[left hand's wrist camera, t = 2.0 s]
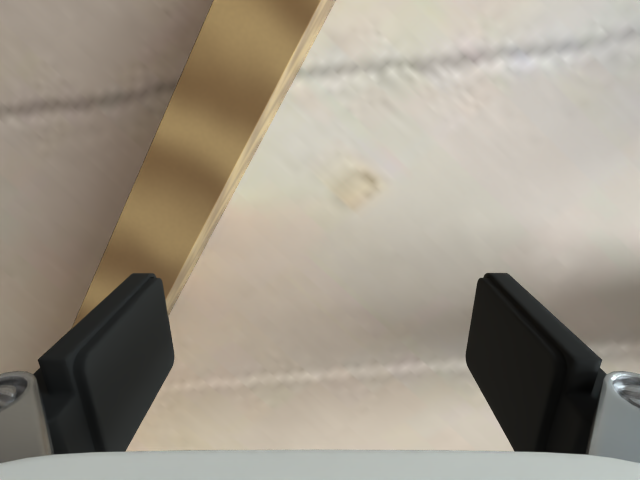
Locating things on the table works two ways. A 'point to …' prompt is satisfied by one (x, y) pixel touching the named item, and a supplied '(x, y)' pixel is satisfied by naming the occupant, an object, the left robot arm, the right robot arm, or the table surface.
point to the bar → (207, 139)
